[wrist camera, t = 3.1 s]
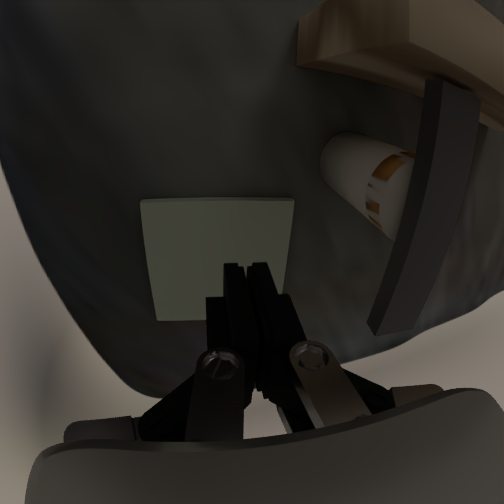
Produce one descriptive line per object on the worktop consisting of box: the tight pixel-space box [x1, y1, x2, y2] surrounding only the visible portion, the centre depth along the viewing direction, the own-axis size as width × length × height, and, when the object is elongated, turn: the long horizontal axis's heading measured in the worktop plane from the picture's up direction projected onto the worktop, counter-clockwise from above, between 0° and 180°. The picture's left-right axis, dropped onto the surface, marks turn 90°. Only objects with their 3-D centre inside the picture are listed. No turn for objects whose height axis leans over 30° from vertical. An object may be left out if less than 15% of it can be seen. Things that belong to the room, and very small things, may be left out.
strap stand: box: [296, 0, 504, 132], centre depth 10 cm, size 3×18×10 cm, turn 87°
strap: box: [367, 79, 481, 336], centre depth 10 cm, size 11×2×1 cm, turn 177°
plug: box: [320, 132, 416, 242], centre depth 14 cm, size 4×4×7 cm
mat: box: [140, 197, 295, 321], centre depth 19 cm, size 9×9×1 cm
